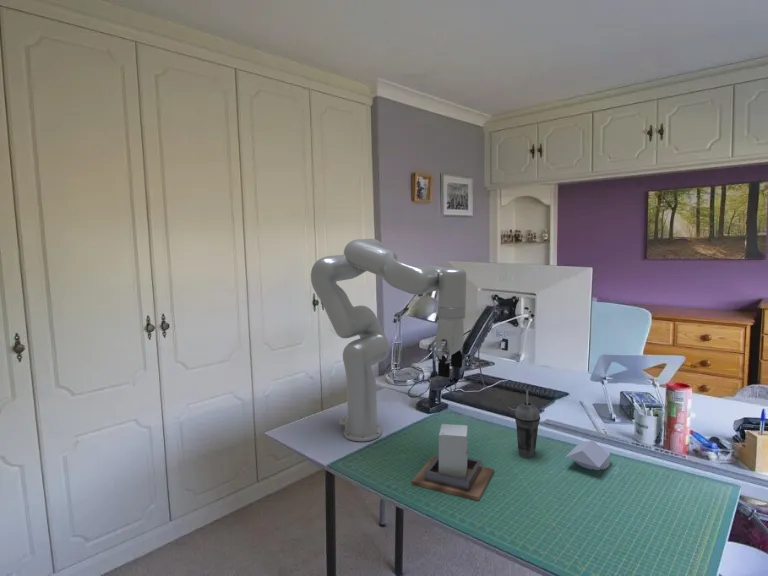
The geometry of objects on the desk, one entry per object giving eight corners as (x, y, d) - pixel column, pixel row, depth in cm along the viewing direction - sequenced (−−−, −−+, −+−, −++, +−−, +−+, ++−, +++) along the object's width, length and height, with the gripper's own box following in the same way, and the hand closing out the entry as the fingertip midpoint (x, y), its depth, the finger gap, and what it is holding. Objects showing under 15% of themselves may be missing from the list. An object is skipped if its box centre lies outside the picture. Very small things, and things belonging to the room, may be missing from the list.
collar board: (411, 484, 126) (411, 471, 125) (432, 459, 139) (432, 447, 139) (478, 501, 118) (478, 487, 117) (494, 472, 131) (494, 460, 130)
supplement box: (466, 482, 124) (466, 436, 122) (437, 479, 126) (437, 434, 124) (468, 468, 131) (468, 424, 130) (441, 466, 133) (441, 422, 131)
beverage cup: (541, 450, 143) (542, 386, 140) (537, 461, 136) (539, 394, 134) (516, 446, 146) (517, 383, 143) (511, 457, 139) (512, 391, 137)
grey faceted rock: (598, 479, 126) (613, 460, 136) (599, 455, 126) (614, 438, 135) (564, 468, 132) (581, 451, 142) (565, 445, 131) (582, 429, 141)
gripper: (450, 306, 142) (449, 361, 145) (426, 316, 127) (425, 378, 130) (474, 308, 139) (472, 365, 141) (453, 319, 124) (451, 383, 126)
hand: (450, 371), depth 135 cm, fingers open, 9 cm apart
